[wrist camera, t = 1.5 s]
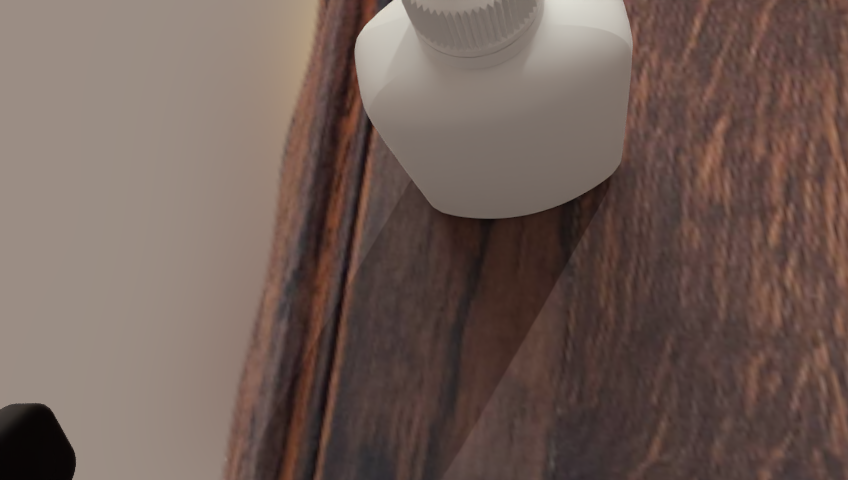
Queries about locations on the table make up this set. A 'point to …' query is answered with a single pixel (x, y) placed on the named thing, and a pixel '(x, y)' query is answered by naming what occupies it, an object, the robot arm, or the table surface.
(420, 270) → the table surface
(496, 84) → the eye dropper bottle
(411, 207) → the table surface
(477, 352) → the table surface
